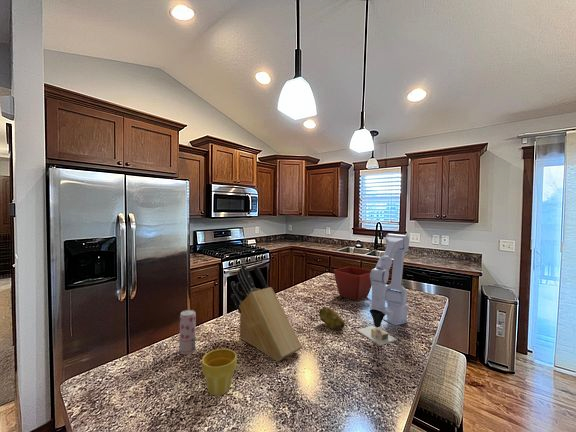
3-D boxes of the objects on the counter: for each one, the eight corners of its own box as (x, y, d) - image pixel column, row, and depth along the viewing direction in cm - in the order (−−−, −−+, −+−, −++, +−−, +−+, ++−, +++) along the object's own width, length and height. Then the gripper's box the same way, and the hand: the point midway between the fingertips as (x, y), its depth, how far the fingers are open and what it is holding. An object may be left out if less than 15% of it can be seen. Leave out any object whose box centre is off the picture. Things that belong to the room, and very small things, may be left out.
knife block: (248, 323, 125) (249, 259, 124) (302, 354, 100) (304, 274, 99) (227, 331, 117) (228, 262, 116) (281, 366, 92) (283, 279, 91)
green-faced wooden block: (377, 327, 117) (388, 333, 112) (377, 332, 117) (388, 338, 112) (371, 329, 115) (381, 335, 110) (371, 334, 115) (381, 340, 110)
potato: (332, 334, 116) (332, 316, 116) (316, 322, 128) (316, 306, 127) (346, 330, 120) (347, 313, 120) (329, 319, 132) (330, 303, 131)
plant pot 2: (349, 289, 180) (350, 265, 180) (374, 297, 166) (375, 271, 166) (332, 295, 167) (333, 269, 167) (358, 304, 153) (359, 276, 153)
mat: (372, 326, 124) (372, 325, 124) (396, 340, 112) (396, 339, 112) (356, 331, 120) (356, 329, 120) (379, 345, 107) (379, 344, 107)
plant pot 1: (205, 377, 85) (206, 348, 84) (237, 376, 86) (238, 347, 85) (197, 401, 74) (197, 367, 74) (234, 399, 75) (234, 366, 75)
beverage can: (179, 348, 102) (179, 310, 101) (195, 345, 104) (195, 308, 103) (179, 356, 96) (179, 316, 96) (195, 353, 98) (196, 314, 98)
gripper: (360, 292, 119) (359, 321, 120) (384, 302, 106) (383, 335, 107) (371, 290, 122) (370, 318, 123) (396, 300, 109) (395, 332, 110)
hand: (377, 326), depth 115 cm, fingers closed
